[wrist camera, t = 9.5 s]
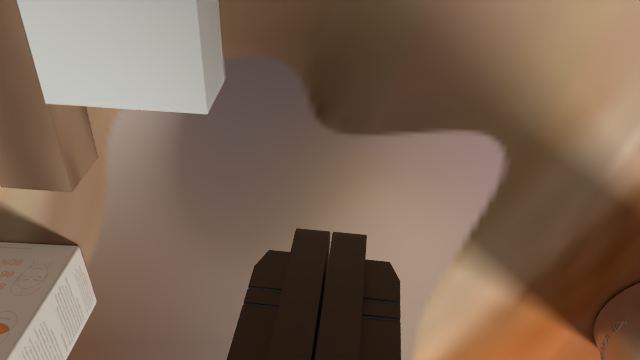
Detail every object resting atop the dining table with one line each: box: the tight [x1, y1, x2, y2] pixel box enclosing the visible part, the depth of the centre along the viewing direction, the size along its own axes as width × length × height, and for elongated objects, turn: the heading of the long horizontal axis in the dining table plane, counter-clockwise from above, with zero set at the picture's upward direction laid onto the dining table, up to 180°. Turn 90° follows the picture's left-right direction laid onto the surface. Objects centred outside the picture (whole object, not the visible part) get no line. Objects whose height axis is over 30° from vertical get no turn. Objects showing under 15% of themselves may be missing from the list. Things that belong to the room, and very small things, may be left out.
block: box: [17, 0, 226, 114], centre depth 27 cm, size 8×8×4 cm
